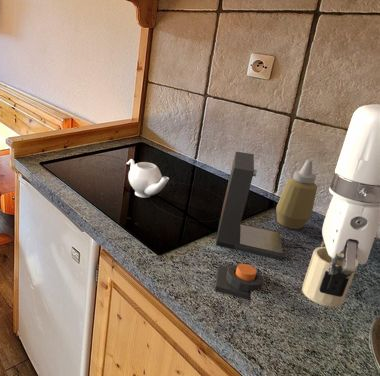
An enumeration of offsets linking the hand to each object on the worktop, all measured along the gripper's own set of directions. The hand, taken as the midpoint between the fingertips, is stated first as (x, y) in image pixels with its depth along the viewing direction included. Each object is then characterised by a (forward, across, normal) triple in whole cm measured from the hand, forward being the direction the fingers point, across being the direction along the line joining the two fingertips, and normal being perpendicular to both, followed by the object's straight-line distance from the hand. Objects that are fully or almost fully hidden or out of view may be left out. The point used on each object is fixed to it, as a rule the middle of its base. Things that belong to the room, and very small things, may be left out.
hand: (327, 280), depth 70 cm
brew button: (+7, +6, +12) cm, 15 cm away
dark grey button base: (+9, +6, +12) cm, 16 cm away
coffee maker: (+10, +26, +11) cm, 29 cm away
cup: (+3, 0, 0) cm, 3 cm away
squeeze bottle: (+10, +40, +1) cm, 41 cm away
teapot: (+9, +40, +40) cm, 57 cm away
